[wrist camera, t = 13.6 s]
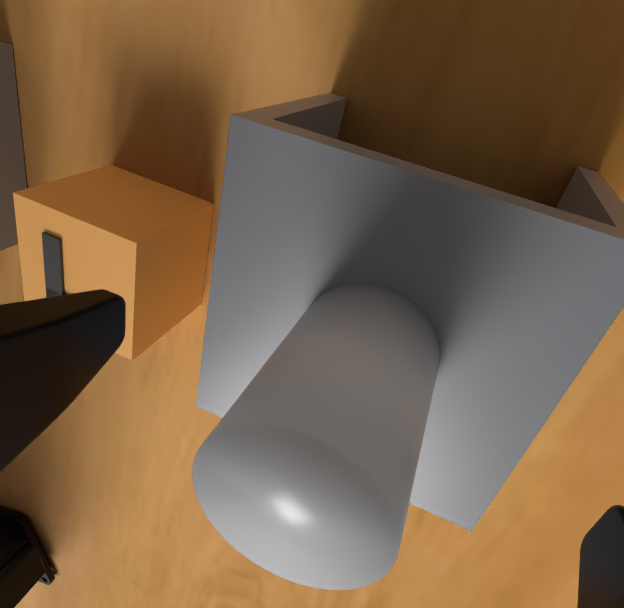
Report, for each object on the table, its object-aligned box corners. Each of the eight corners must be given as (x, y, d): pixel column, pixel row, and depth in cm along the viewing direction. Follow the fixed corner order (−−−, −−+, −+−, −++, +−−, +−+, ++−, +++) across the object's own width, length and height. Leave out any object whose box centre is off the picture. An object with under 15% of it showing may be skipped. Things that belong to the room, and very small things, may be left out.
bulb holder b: (282, 307, 16) (74, 543, 8) (330, 92, 13) (41, 156, 5) (482, 386, 15) (455, 753, 7) (598, 172, 11) (808, 437, 4)
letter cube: (112, 265, 18) (22, 312, 15) (113, 164, 16) (9, 193, 13) (202, 303, 18) (129, 362, 14) (215, 203, 16) (134, 244, 12)
